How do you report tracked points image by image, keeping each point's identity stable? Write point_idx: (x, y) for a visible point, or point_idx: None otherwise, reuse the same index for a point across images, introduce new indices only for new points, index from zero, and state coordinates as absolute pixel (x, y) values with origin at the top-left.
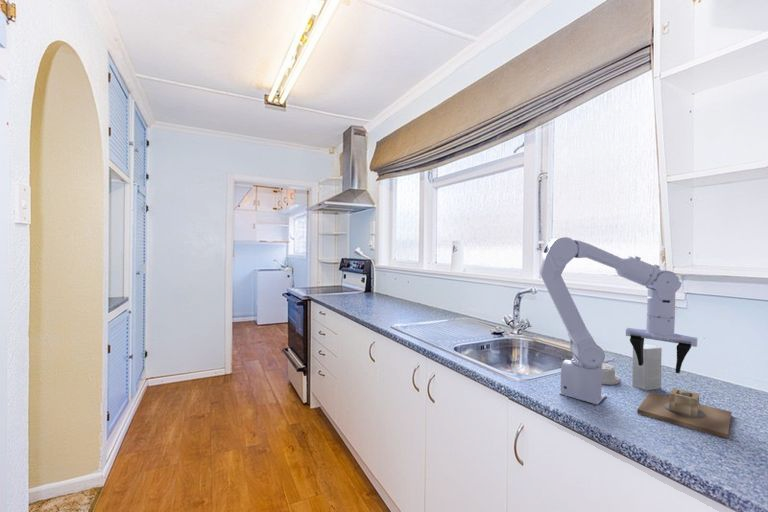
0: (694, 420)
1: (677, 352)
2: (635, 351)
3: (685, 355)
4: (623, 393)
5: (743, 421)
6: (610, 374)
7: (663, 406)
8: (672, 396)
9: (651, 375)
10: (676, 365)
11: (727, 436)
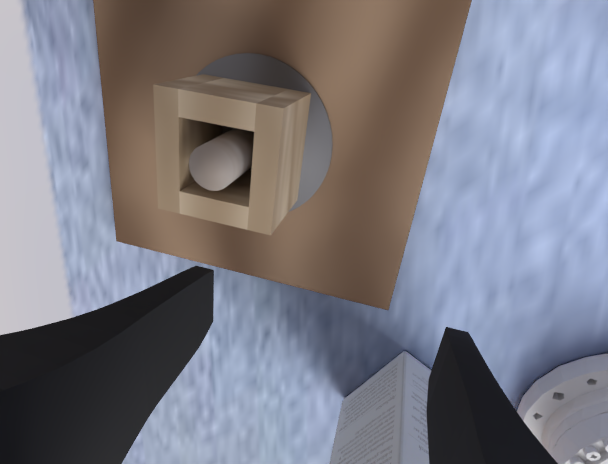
0: (208, 22)
1: (65, 359)
2: (534, 437)
3: (19, 332)
4: (517, 266)
5: (94, 201)
6: (587, 422)
7: (336, 135)
8: (273, 103)
9: (373, 425)
10: (175, 293)
11: None
